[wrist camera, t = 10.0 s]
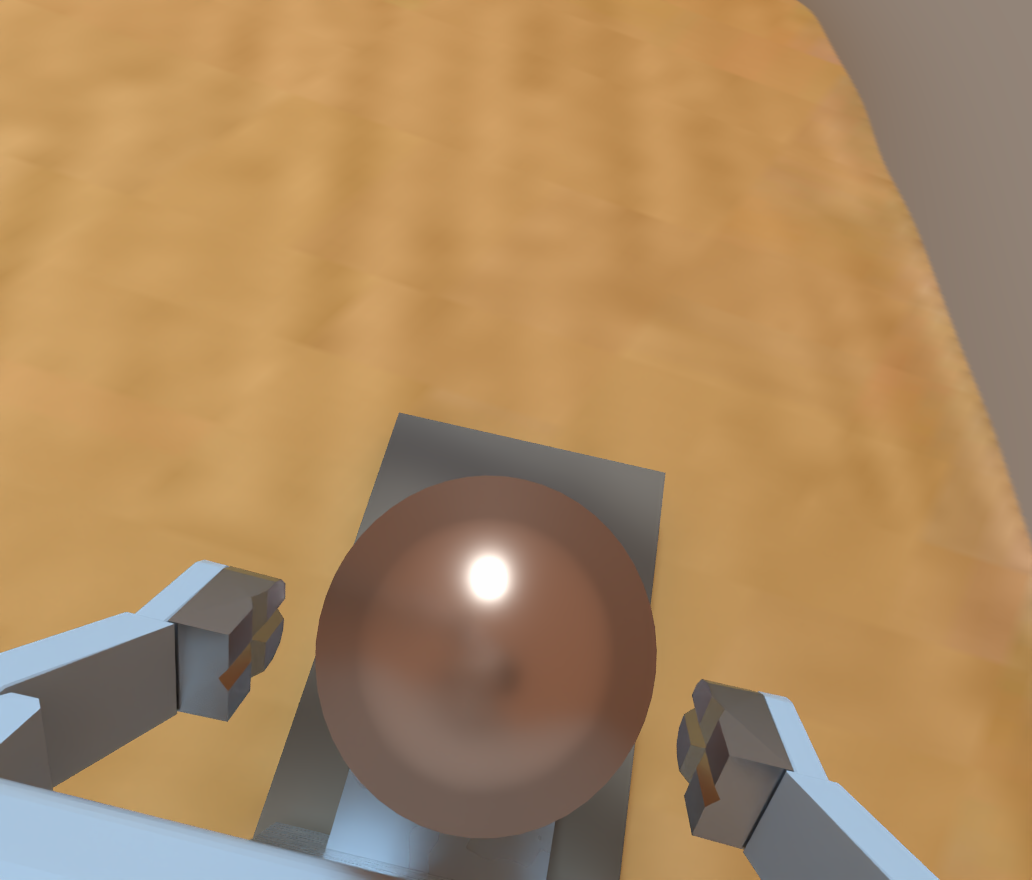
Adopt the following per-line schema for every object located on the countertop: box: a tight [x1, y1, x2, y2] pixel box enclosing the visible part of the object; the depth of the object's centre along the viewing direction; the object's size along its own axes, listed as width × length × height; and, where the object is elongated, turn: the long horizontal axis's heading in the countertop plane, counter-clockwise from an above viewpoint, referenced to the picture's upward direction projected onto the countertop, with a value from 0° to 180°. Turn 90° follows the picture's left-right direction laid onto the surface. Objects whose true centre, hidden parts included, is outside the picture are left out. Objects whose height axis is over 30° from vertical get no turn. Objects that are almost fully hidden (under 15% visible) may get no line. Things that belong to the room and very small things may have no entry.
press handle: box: [251, 475, 657, 880], centre depth 9 cm, size 8×8×11 cm
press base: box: [253, 413, 665, 880], centre depth 13 cm, size 20×9×6 cm, turn 168°
